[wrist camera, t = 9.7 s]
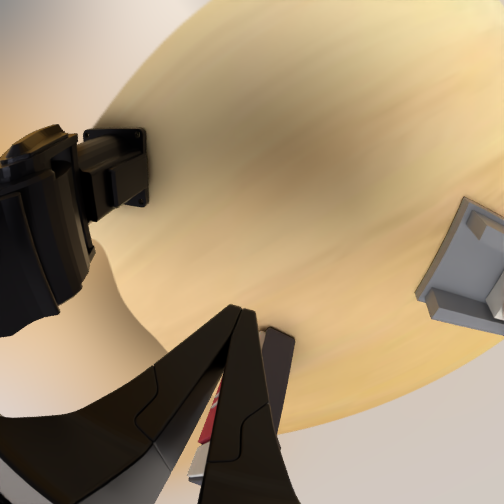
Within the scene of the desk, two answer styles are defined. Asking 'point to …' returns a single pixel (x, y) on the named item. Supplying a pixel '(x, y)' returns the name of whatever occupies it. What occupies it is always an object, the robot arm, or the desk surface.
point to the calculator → (277, 374)
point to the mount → (466, 270)
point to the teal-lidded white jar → (497, 299)
